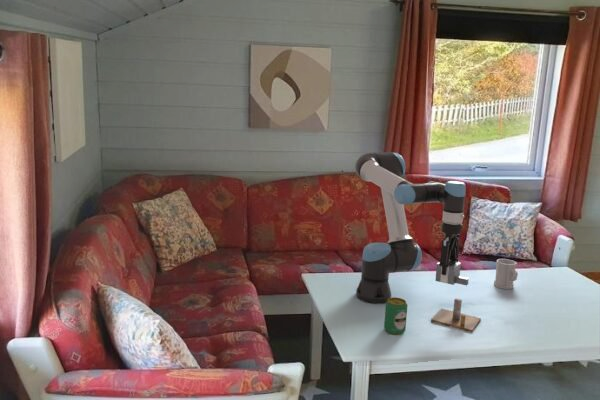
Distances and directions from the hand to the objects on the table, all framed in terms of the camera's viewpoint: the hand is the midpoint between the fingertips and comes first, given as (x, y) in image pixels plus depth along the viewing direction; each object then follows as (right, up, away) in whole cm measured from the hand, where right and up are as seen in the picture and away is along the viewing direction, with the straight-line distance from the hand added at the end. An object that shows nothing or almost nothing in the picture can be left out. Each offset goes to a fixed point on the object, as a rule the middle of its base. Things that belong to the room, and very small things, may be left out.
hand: (447, 279), depth 213 cm
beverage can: (-22, -19, -6) cm, 29 cm away
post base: (+5, -17, +5) cm, 18 cm away
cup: (+39, -10, +45) cm, 61 cm away
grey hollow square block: (+2, -1, -1) cm, 2 cm away
